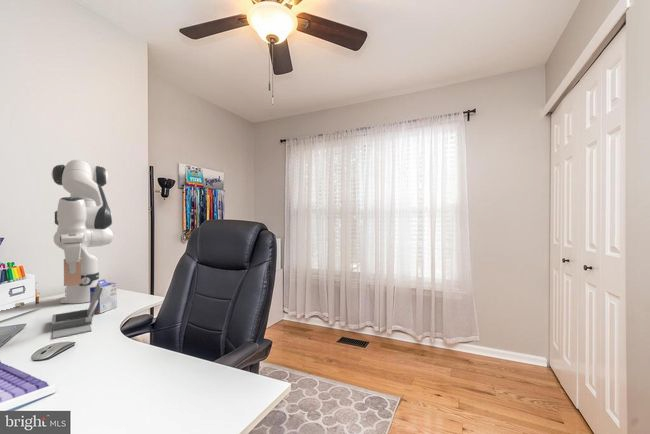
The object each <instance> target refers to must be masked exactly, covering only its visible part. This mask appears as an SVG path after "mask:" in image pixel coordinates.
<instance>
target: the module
mask: <svg viewBox="0 0 650 434" xmlns="http://www.w3.org/2000/svg"><path fill="white" fill-rule="evenodd" d="M77 284H81V258H80V259H79V262H77V263H76V273H74V274H70V273H69V263H66V259H65V258H64V259H63V287H66V286H69V285H77Z"/></svg>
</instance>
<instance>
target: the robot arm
mask: <svg viewBox="0 0 650 434" xmlns="http://www.w3.org/2000/svg"><path fill="white" fill-rule="evenodd" d="M51 179H52V180H53V182H54V183H55V184H56V185H58V186H62V187H63V189H64V190H65V191H66V192H68V193H69V194H70V196H65V197H61V198H59V200H58V202H57V209H56V211H54V224H55V225H56V226H57V229H56V232H55V233H54V235H53V242H54V244H55V246H56V247H58V248H60V249H62V250H63V253H64V259H66V263H69V273H70V274H74V273H76V263H77V262H79V259H80V258H81V284H77V285H69V286H65V288H64V293H65V294H64V297H63V298H62V299H61V300H60V304H83V303H84V304H85V303H89V302H90V288H91V287H94V286H97V283H98V281H99V280H100V272H99V259H98V257H97V256H95V254H91V253H90V252H88V250H87V249H88V248H94V247H102V246H106V245H110V244H111V243H112V241H113V239H114V233H113V232H114V231H112V229H110V227H111V225H112V224H113V221H114V215H113V213H112V211H111V209H110V207H109V204H108V201H107V198H106V194H105V191H104V190H103V187H104V186H105V185H107V183H108V181H109V173H108V171H107V169H106V168H105V167H104V166H100V165H96V166H94V165H90V164H89V163H88V162H87V161H84V160H81V159H72V160H70V161H68V162H67V163H66V165H65V164H58V165H55V166H54V167H53V168H52V170H51ZM100 283H103V281H101V282H100Z"/></svg>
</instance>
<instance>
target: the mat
mask: <svg viewBox="0 0 650 434" xmlns="http://www.w3.org/2000/svg"><path fill="white" fill-rule="evenodd" d="M91 325H92V324H91ZM91 325H90V324H89V325H83V326H78V327H73V328H68V329H62V330H57V331H53V332H52V340H55V339H60V338H66V337H71V336H75V335H79V334H86V333H90V332H92V326H91Z"/></svg>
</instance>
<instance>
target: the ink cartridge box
mask: <svg viewBox="0 0 650 434" xmlns="http://www.w3.org/2000/svg"><path fill="white" fill-rule="evenodd" d="M98 282H102V283H100V284H101V286H102V288H103V289H102V292H101V295H100V298H99V301H98V304H97V307H96V310H95V313H94V314H95V315H96V314H98V315H99V314H100V315H101V314H102V313H105V312H108V311H110V310H112V309H116V308H117V307H118V288H117V287H118V283H117V282H107V281H106V279H99V281H98ZM95 289H96V286H94V287H91V288H90V303H91V300H92V297H93V294H94V291H95ZM90 303H89V304H90Z"/></svg>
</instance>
